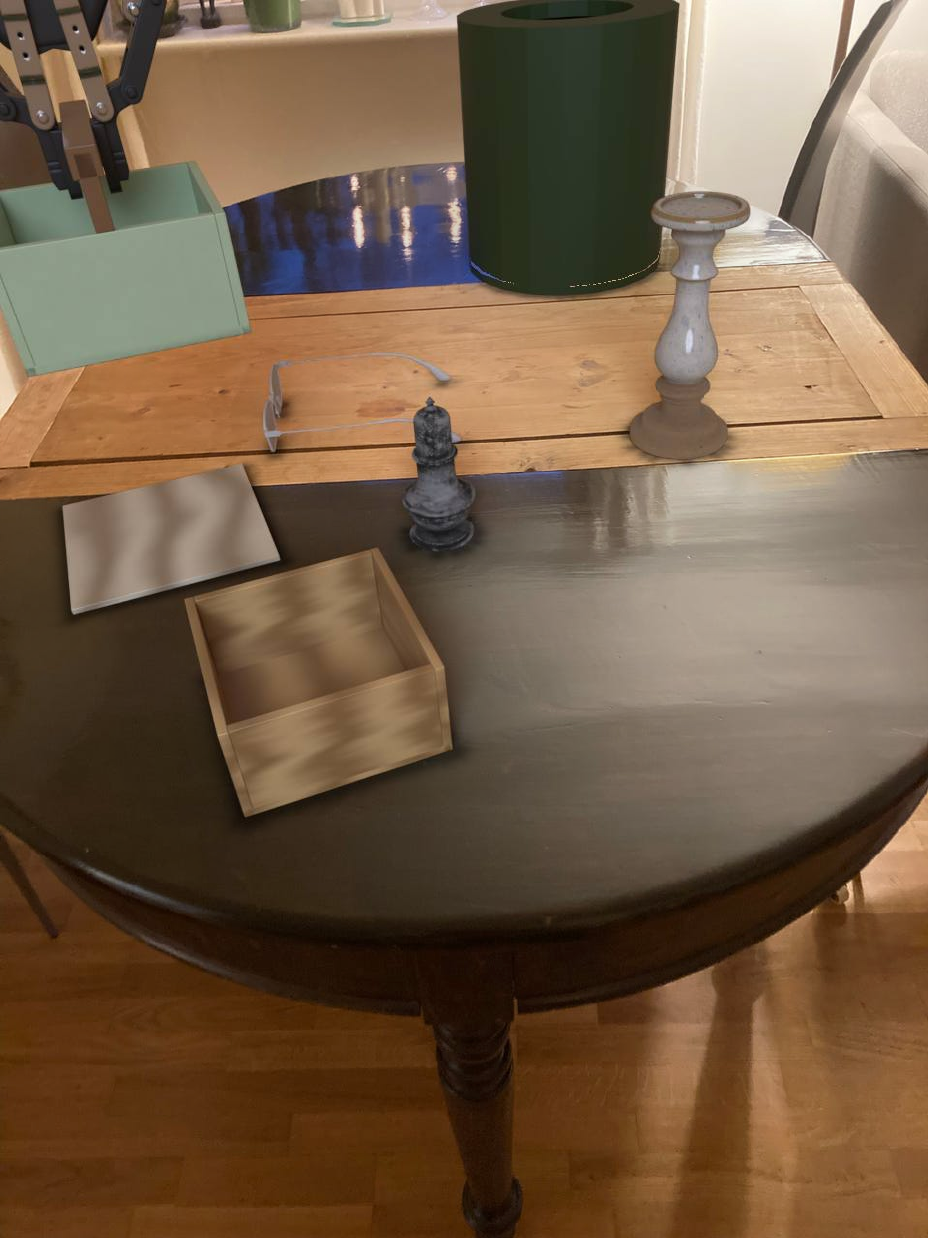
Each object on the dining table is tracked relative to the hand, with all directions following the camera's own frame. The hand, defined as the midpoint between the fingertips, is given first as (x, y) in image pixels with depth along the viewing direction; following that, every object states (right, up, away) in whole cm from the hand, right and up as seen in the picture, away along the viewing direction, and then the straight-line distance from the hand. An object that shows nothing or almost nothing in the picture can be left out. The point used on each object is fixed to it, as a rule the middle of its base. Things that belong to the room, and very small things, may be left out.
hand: (96, 191), depth 54 cm
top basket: (+1, -6, +5) cm, 8 cm away
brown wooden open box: (+13, -31, +6) cm, 34 cm away
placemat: (-3, -18, +23) cm, 30 cm away
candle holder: (+41, -9, +31) cm, 52 cm away
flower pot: (+35, +22, +68) cm, 80 cm away
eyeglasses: (+12, -6, +37) cm, 39 cm away
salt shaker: (+20, -18, +21) cm, 34 cm away
